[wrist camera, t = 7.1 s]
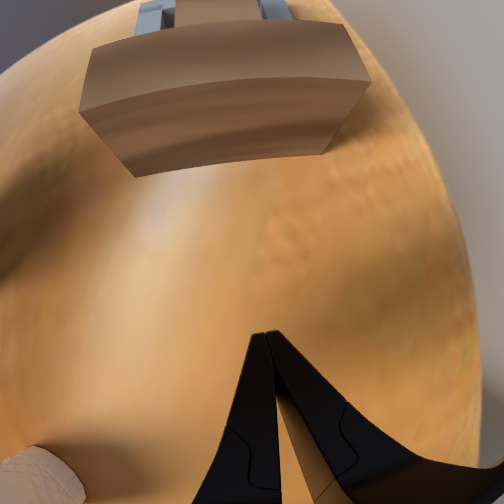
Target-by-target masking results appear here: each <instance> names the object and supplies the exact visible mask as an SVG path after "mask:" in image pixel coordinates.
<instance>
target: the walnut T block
mask: <svg viewBox="0 0 504 504" xmlns="http://www.w3.org/2000/svg"><path fill="white" fill-rule="evenodd" d="M371 82H372V81H371V79H370V77H369V75H368V72H367V70H366V68H365V66H364V64H363V62H362V60H361V58H360V56H359V54H358V52H357V50H356V48H355V46H354V44H353V42H352V40H351V38H350V36H349V34H348V32H347V31H346V29H345V27H344V25H343V24H335V23H327V22H317V21H304V20H281V19H262V16H261V13H260V10H259V7H258V4H257V1H256V0H175V21H174V28H170V29H164V30H159V31H155V32H150V33H146V34H142V35H137V36H134V37H130V38H126V39H122V40H119V41H116V42H112V43H109V44H106V45H103V46H100V47H97V48H94V49H92V53H91V57H90V60H89V64H88V68H87V73H86V77H85V81H84V86H83V91H82V96H81V101H80V107H79V113H80V115H81V116H82V117H83V118H84V119H85V121H86V122H87V123H88V124H89V125H90V126H91V128H92V129H93V130H94V131H95V132H96V134H97V135H98V136H99V137H100V138H101V139H102V140H103V142H104V143H105V144H106V145H107V146H108V147H109V149H110V150H111V151H112V152H113V153H114V154H115V155H116V157H117V158H118V159H119V160H120V161H121V162H122V163H123V165H124V166H125V167H126V168H127V169H128V170H129V171H130V172H131V174H132V175H133V176H134V177H135V178H136V177H141V176H146V175H152V174H157V173H163V172H168V171H174V170H180V169H186V168H193V167H199V166H206V165H214V164H221V163H229V162H237V161H246V160H256V159H266V158H277V157H290V156H305V155H321V154H322V153H323V152H324V150H325V149H326V147H327V146H328V144H329V143H330V141H331V140H332V138H333V137H334V136H335V134H336V133H337V131H338V130H339V128H340V127H341V125H342V124H343V122H344V121H345V120H346V118H347V117H348V115H349V114H350V112H351V111H352V109H353V108H354V106H355V105H356V104H357V102H358V101H359V99H360V98H361V96H362V95H363V93H364V92H365V90H366V89H367V87H368V86H369V85H370V83H371Z"/></svg>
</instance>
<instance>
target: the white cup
mask: <svg viewBox="0 0 504 504" xmlns="http://www.w3.org/2000/svg"><path fill="white" fill-rule="evenodd" d="M85 498H86V495H85V491H84V487H83V485H82V483H81V482H80V480H79V479H78V477H77V476H76V474H75V473H74V472H73V471H72V470H71V469H70V468H69V467H68V466H67V465H66V464H65V463H64V462H63V461H62V460H61V459H59V458H58V457H56V456H55V455H53V454H52V453H50V452H49V451H47V450H46V449H42V448H39V447H36V446H31V447H28V448H25V449H23V450H22V451H20V452H19V453H17V454H16V455H14V456H11V457H9V458H7V459H5V460H4V461H2V462H0V504H82V503H83V502H84V500H85Z"/></svg>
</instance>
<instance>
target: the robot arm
mask: <svg viewBox="0 0 504 504" xmlns="http://www.w3.org/2000/svg"><path fill="white" fill-rule="evenodd" d="M276 400H277V403H278V406H279V409H280V412H281V414H282V417H283V420H284V423H285V426H286V429H287V431H288V434H289V437H290V440H291V443H292V445H293V448H294V451H295V454H296V457H297V459H298V462H299V465H300V467H301V470H302V473H303V476H304V478H305V481H306V484H307V486H308V489H309V492H310V494H311V497H312V500H313V502H314V504H504V457H503V458H502V459H501V460H499V461H498V462H496V463H495V464H493V465H492V466H490V467H489V468H487V469H478V468H471V467H465V466H459V465H453V464H447V463H442V462H438V461H433V460H429V459H426V458H423V457H421V456H418V455H416V454H415V453H413V452H411V451H410V450H408V449H407V448H405V447H404V446H403V445H401V444H400V443H398V442H397V441H395V440H394V439H393V438H391V437H390V436H388V435H387V434H386V433H384V432H383V431H382V430H380V429H379V428H378V427H376V426H375V425H374V424H372V423H371V422H370V421H369V420H367V419H366V418H365V417H364V416H363V415H362V414H361V413H360V412H359V411H358V410H356V409H355V408H354V407H353V406H352V405H351V404H350V403H349V402H348V401H347V400H346V399H345V398H344V397H343V396H342V395H341V394H340V393H339V392H338V391H337V390H336V389H335V388H334V387H333V386H332V385H331V384H330V383H329V382H328V381H327V380H326V379H325V378H324V377H323V376H322V375H321V374H320V373H319V372H318V371H317V369H316V368H315V367H314V366H313V365H312V364H311V363H310V362H309V361H308V360H307V359H306V358H305V357H304V356H303V355H302V354H301V353H300V352H299V351H298V350H297V349H296V348H295V347H294V346H293V345H292V344H291V343H290V341H289V340H288V339H287V338H286V337H285V336H284V335H283V334H282V333H281V332H280V331H279V330H273V331H267V332H266V333H264V332H261V333H255V334H252V335H251V338H250V342H249V345H248V349H247V352H246V356H245V360H244V363H243V367H242V370H241V374H240V377H239V381H238V384H237V388H236V391H235V395H234V398H233V402H232V405H231V409H230V412H229V416H228V419H227V422H226V426H225V429H224V432H223V435H222V438H221V441H220V444H219V447H218V450H217V453H216V455H215V457H214V460H213V462H212V464H211V466H210V468H209V470H208V472H207V474H206V477H205V479H204V481H203V482H202V484H201V486H200V488H199V490H198V492H197V494H196V496H195V498H194V500H193V502H192V504H282V493H281V474H280V456H279V438H278V422H277V406H276ZM346 401H347V402H346Z"/></svg>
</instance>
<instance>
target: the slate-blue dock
mask: <svg viewBox="0 0 504 504" xmlns="http://www.w3.org/2000/svg"><path fill="white" fill-rule="evenodd" d="M256 1H257V4H258V7H259V10H260V13H261V16H262V19H281V20H293V18H292V15H291V13H290V11H289V9H288V7H287V4H286V2H285V0H256ZM174 21H175V0H154V1H150V2H146V3H141V5H140V9H139V14H138V18H137V23H136V29H135V34H134V36H137V35H142V34H146V33H150V32H155V31H159V30H164V29H170V28H174Z"/></svg>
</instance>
